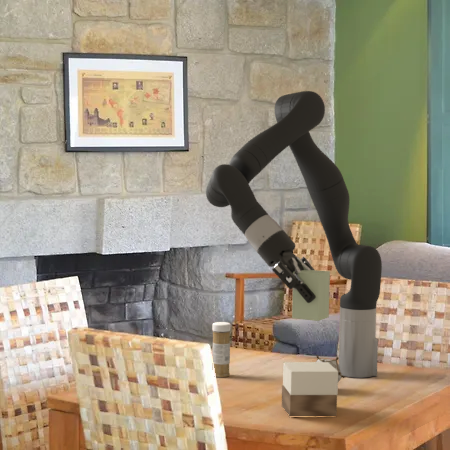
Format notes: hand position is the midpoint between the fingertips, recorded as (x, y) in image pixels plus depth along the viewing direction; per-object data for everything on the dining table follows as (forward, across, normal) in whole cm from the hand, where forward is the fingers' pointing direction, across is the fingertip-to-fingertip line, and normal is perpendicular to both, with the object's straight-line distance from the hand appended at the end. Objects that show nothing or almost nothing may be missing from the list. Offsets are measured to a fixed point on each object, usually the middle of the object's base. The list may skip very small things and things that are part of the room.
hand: (318, 298), depth 206 cm
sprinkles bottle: (-7, +21, +42) cm, 47 cm away
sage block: (+2, 0, +4) cm, 5 cm away
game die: (+13, +20, +22) cm, 33 cm away
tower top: (+13, 0, +15) cm, 20 cm away
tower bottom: (+17, 0, +19) cm, 25 cm away
